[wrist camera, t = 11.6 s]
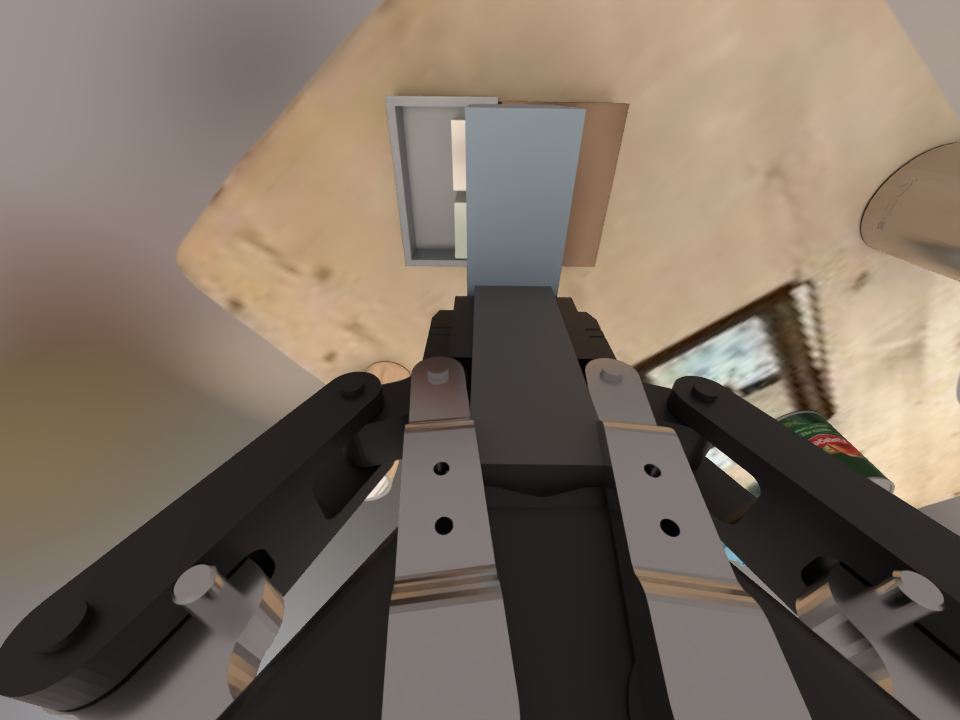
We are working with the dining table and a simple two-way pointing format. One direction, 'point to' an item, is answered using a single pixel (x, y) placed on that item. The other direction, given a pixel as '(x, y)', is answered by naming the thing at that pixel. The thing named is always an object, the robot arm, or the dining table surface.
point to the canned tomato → (833, 444)
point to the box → (426, 174)
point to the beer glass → (386, 374)
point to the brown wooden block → (592, 178)
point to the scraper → (525, 301)
